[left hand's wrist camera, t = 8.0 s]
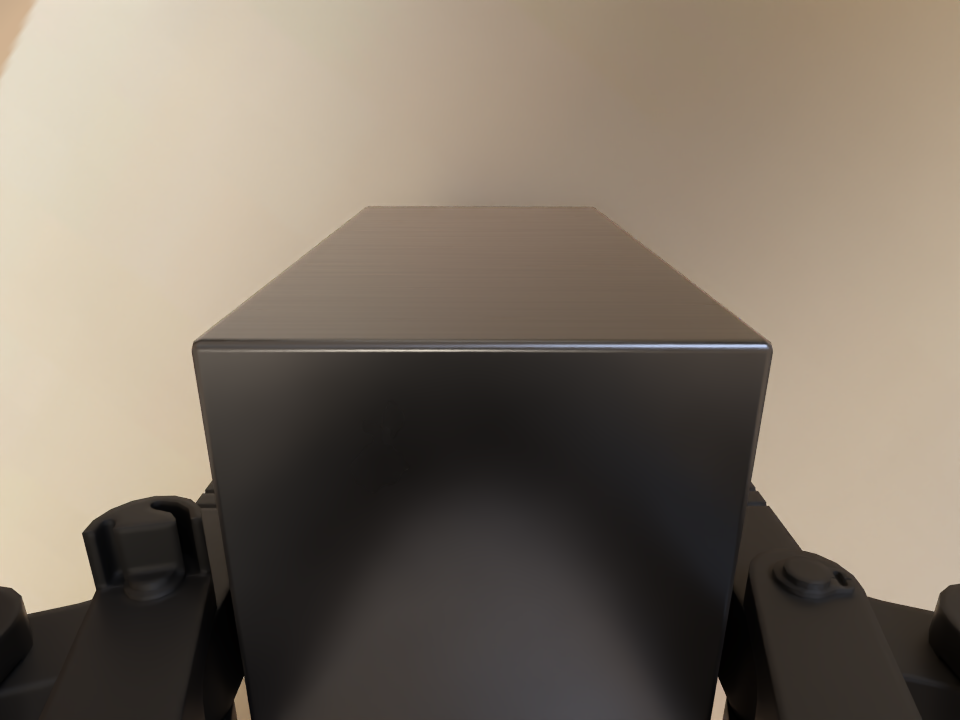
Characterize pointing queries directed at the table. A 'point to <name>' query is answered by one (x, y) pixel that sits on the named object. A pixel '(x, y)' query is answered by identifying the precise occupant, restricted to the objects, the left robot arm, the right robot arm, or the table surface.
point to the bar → (481, 471)
